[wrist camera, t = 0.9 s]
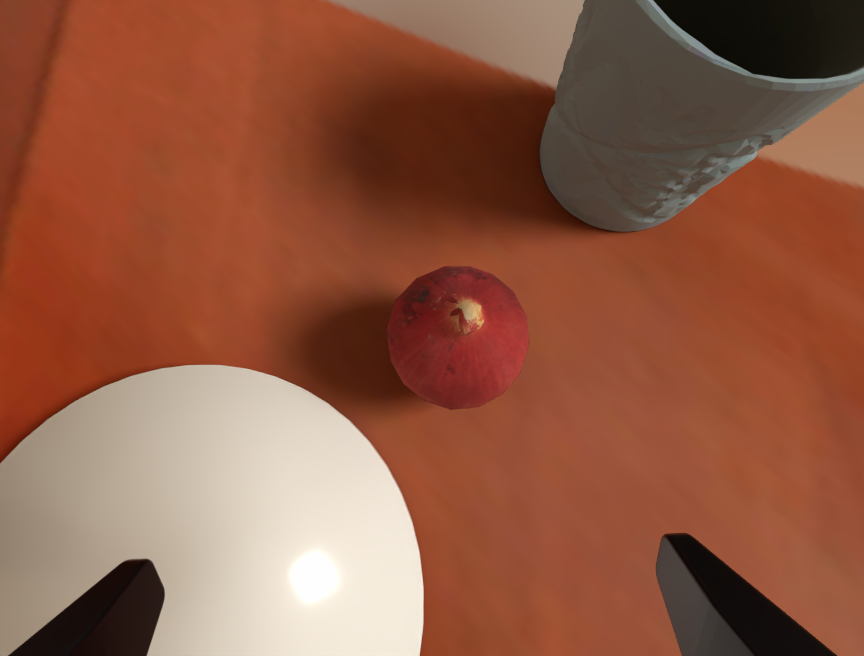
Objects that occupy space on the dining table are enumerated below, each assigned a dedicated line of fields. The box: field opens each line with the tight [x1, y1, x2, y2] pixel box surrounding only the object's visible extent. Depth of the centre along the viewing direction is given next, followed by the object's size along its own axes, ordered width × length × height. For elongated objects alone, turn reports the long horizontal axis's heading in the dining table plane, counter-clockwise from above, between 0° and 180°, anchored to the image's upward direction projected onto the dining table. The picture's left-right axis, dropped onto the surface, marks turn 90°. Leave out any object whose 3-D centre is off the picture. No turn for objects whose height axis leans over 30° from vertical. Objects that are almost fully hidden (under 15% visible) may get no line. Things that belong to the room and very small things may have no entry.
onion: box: [386, 266, 529, 410], centre depth 20 cm, size 6×6×8 cm
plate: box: [0, 365, 423, 656], centre depth 20 cm, size 20×20×1 cm
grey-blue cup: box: [540, 0, 864, 232], centre depth 21 cm, size 10×10×12 cm
